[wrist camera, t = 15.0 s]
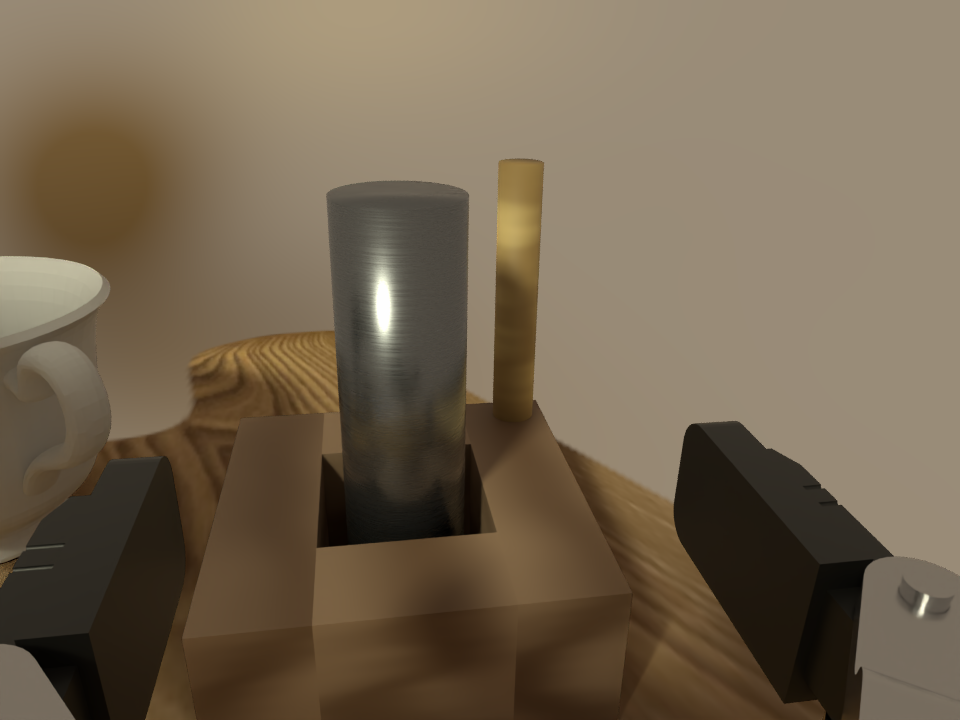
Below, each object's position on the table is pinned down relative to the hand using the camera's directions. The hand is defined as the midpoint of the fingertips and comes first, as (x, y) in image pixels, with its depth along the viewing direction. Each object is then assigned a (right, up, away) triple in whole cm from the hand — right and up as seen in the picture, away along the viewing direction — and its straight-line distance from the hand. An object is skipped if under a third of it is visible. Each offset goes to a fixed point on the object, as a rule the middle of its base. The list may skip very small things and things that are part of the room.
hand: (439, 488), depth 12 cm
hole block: (-2, -7, +16) cm, 17 cm away
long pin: (-2, -7, +16) cm, 17 cm away
